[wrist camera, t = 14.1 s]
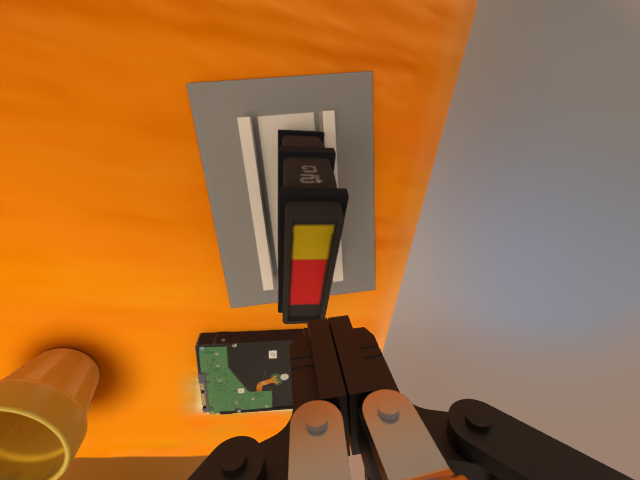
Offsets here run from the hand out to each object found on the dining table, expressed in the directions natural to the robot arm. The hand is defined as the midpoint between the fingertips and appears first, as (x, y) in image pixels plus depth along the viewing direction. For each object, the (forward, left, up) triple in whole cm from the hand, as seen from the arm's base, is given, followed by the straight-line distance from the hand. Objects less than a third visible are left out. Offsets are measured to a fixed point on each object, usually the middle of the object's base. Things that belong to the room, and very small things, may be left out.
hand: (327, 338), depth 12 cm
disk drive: (+20, -6, -23) cm, 31 cm away
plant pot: (+17, -27, -23) cm, 39 cm away
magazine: (0, 0, -21) cm, 21 cm away
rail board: (0, 0, -22) cm, 22 cm away
